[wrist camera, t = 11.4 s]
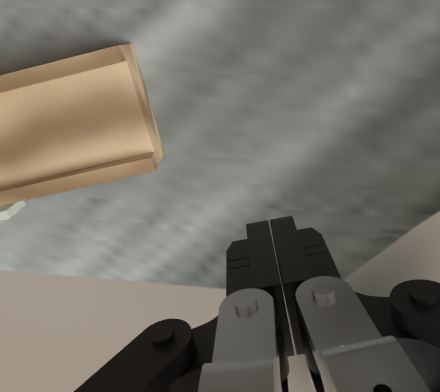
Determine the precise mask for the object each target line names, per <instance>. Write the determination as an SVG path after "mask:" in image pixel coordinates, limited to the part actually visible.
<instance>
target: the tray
mask: <svg viewBox="0 0 440 392" xmlns="http://www.w3.org/2000/svg"><path fill="white" fill-rule="evenodd" d="M26 204H27V203H26V201H25V200H24V201H19V202H15V203H10V204H6V205H1V206H0V220H5V219H9V218H11V217H12V216H13V215H14V214H15V213H17V212H18V211H19V210H20V209H21V208H22V207H23V206H24V205H26Z"/></svg>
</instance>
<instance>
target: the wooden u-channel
mask: <svg viewBox="0 0 440 392" xmlns="http://www.w3.org/2000/svg"><path fill="white" fill-rule="evenodd" d="M163 154H164V149H163V145H162V142H161V139H160V135H159V132H158V129H157V125H156V122H155V118H154V115H153V112H152V108H151V105H150V102H149V98H148V95H147V91H146V88H145V85H144V81H143V78H142V75H141V71H140V68H139V64H138V61H137V58H136V54H135V51H134V48H133V44H132V43H130V44H124V45H117V46H113V47H109V48H105V49H101V50H97V51H94V52H90V53H86V54H82V55H78V56H74V57H70V58H66V59H62V60H58V61H54V62H51V63H47V64H43V65H39V66H35V67H31V68H27V69H23V70H19V71H15V72H12V73H8V74H4V75H0V206H1V205H6V204H10V203H15V202H19V201H24V200H28V199H33V198H37V197H42V196H46V195H51V194H55V193H59V192H64V191H68V190H73V189H77V188H82V187H86V186H91V185H95V184H100V183H104V182H109V181H113V180H117V179H122V178H126V177H131V176H135V175H140V174H144V173H149V172H153V171H156V169H157V167H158V165H159V163H160V160H161V158H162V156H163Z"/></svg>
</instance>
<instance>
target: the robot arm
mask: <svg viewBox="0 0 440 392" xmlns="http://www.w3.org/2000/svg"><path fill="white" fill-rule="evenodd" d="M270 224H271V229H272V235H273V240H274V246H275V251H276V256H277V261H276V257H275V252H274V247H273V242H272V237H271V233H270V228H269V223H268V220H266V221H260V222H255V223H250V224H246V228H247V239H245V240H239V241H234V242H232V244H231V245H230V247H229V248H228V250H227V251H226V261H227V263H226V269H227V271H226V296H227V297H226V298H225V299H224V300H223V301H222V303H221V305H220V308H219V314H218V316H217V317H216V318H214V319H213V320H211V321H210V322H208V323H205V324H203V325H201V326H198V327H196V328H193V329H191V327H190V326H189V324H188V323H187V322H185V321H183V320H180V319H166V320H162V321H159V322H156V323H154V324H153V325H151V326H149V327H148V328H147V329H145V330H144V331H143V332H142V333H141V334H140V335H138V336H137V337H136V338H135V339H134V340H133V341H131V343H129V344H128V345H127V346H126V347H124V348H123V349H122V350H121V351H120V352H119V353H118V354H116V355H115V356H114V357H113V358H112V359H111V360H110V361H108V362H107V363H106V364H105V365H104V366H103V367H102V368H100V369H99V370H98V371H97V372H96V373H95V374H94V375H92V376H91V377H90V378H89V379H88V380H87V381H86V382H85V383H83V384H82V385H81V386H80V387H79V388H77V389H76V390H75V391H74V392H290V383H289V377H288V374H289V363H288V358H287V356H293V355H294V350H293V345H292V339H291V334H290V329H289V323H288V318H287V313H286V307H285V302H284V296H285V300H286V306H287V310H288V315H289V320H290V324H291V329H292V334H293V339H294V343H295V348H296V353H297V355H299V354H305V356H306V361H307V366H308V372H309V377H310V381H311V384H312V387H313V391H314V392H440V283H438V282H434V281H429V280H410V281H405V282H403V283H400V284H398V285H397V286H395V287H394V288H393V289H392V291H391V293H390V297H375V296H367V295H363V294H359V293H357V292H354V290H353V289H352V287H351V286H350V285H349V284H348V283H347V282H346V281H344V280H342V279H341V277H340V274H339V272H338V270H337V268H336V265H335V263H334V261H333V259H332V257H331V254H330V253H329V250H328V248H327V245H326V243H325V241H324V239H323V237H322V234H320V233H319V232H317V231H316V230H314V229H313V228H306V229H300V230H297V229H296V226H295V223H294V220H293V217H292V216H287V217H282V218H276V219H271V220H270ZM277 262H278V266H277ZM278 267H279V271H278ZM279 272H280V276H279ZM280 277H281V280H280ZM281 282H282V285H281ZM282 287H283V291H284V296H283V291H282Z"/></svg>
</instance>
